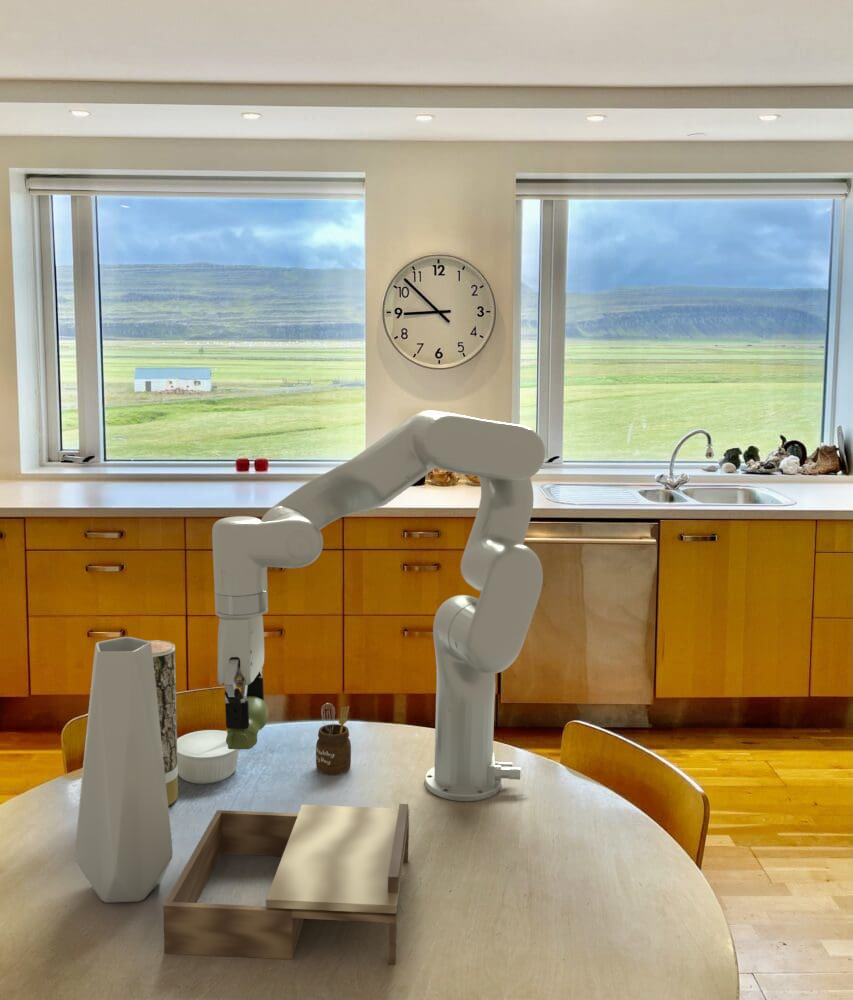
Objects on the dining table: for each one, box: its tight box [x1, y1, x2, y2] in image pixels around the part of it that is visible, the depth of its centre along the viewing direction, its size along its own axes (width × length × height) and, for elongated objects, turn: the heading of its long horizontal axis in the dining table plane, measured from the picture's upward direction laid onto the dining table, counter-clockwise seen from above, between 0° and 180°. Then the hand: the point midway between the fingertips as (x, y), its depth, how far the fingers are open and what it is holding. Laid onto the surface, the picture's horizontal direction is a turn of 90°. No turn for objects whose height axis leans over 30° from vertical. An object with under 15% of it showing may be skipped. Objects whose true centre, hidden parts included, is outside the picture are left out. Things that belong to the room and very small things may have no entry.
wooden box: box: [162, 809, 410, 965], centre depth 117 cm, size 27×23×6 cm
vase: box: [74, 636, 174, 904], centre depth 117 cm, size 12×12×33 cm
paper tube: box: [148, 639, 179, 807], centre depth 142 cm, size 7×7×25 cm
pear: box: [226, 696, 269, 750], centre depth 135 cm, size 6×5×10 cm
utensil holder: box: [315, 702, 352, 776], centre depth 155 cm, size 6×6×12 cm
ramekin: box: [177, 729, 241, 785], centre depth 154 cm, size 11×11×5 cm
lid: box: [265, 803, 410, 914], centre depth 116 cm, size 15×23×3 cm, turn 177°
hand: (245, 714), depth 136 cm, fingers closed on pear, 9 cm apart
